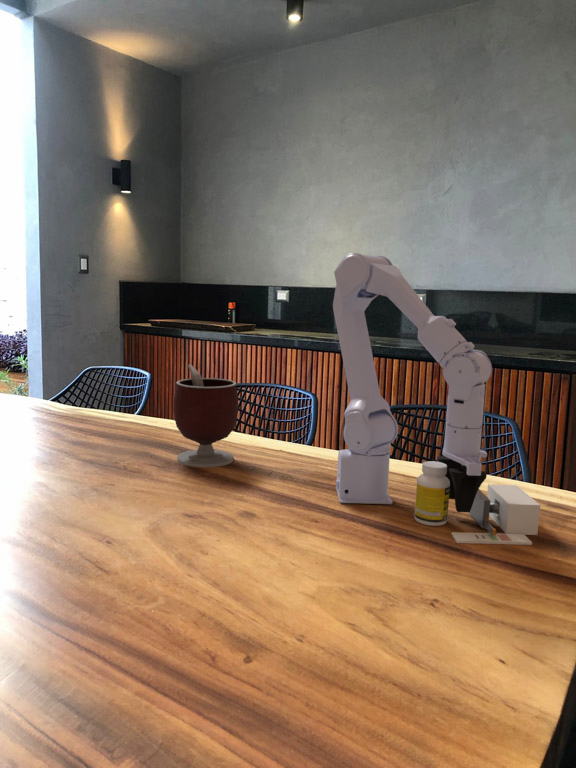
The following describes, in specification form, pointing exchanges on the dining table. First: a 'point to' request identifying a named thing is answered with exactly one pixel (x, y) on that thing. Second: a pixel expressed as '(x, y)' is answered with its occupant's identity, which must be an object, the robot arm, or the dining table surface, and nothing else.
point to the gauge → (508, 517)
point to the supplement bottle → (432, 494)
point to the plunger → (484, 511)
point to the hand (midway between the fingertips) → (457, 504)
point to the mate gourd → (205, 417)
